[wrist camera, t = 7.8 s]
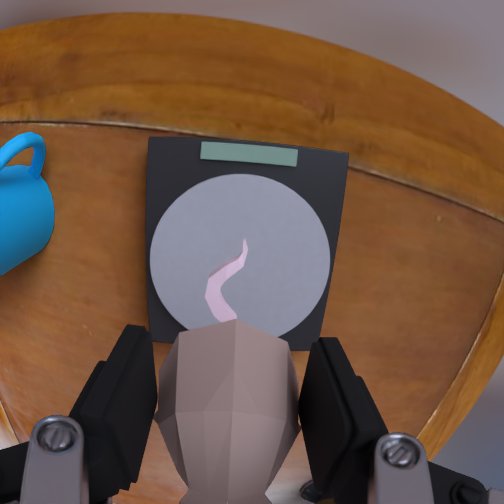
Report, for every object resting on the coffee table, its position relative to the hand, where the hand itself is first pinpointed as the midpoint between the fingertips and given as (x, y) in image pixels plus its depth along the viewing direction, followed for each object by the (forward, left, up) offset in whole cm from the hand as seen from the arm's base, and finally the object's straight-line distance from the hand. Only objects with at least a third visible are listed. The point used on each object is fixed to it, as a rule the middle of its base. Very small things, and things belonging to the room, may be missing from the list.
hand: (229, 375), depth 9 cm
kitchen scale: (0, +1, -15) cm, 15 cm away
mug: (-3, -18, -15) cm, 24 cm away
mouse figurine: (0, 0, -2) cm, 2 cm away
